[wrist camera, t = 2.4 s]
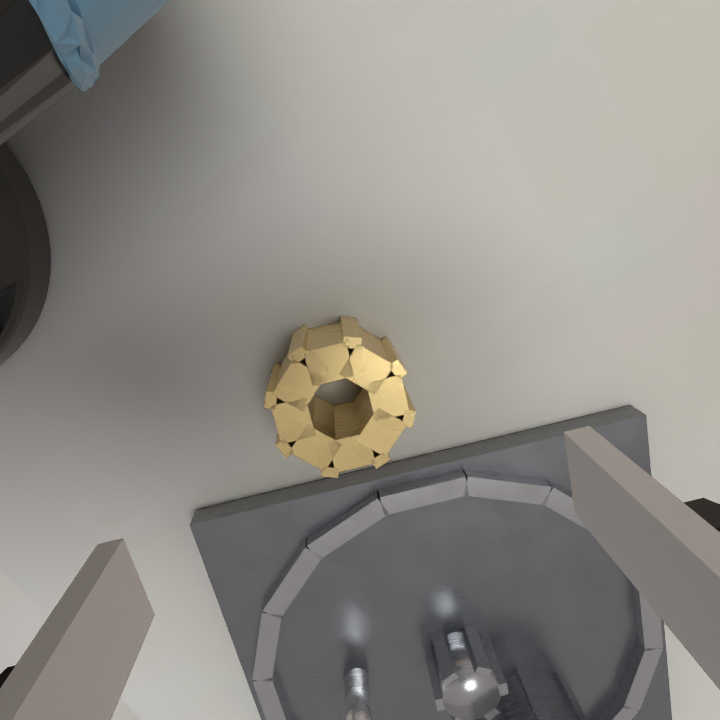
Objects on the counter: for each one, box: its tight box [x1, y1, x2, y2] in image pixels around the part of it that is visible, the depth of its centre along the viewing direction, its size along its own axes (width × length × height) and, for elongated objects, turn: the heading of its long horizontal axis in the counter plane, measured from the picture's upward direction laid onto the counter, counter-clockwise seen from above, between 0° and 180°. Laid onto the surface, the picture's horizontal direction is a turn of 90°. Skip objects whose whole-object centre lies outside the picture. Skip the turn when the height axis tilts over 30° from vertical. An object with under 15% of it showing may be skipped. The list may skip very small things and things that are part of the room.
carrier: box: [190, 405, 672, 720], centre depth 31 cm, size 25×25×6 cm
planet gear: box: [264, 316, 416, 478], centre depth 27 cm, size 7×7×4 cm
